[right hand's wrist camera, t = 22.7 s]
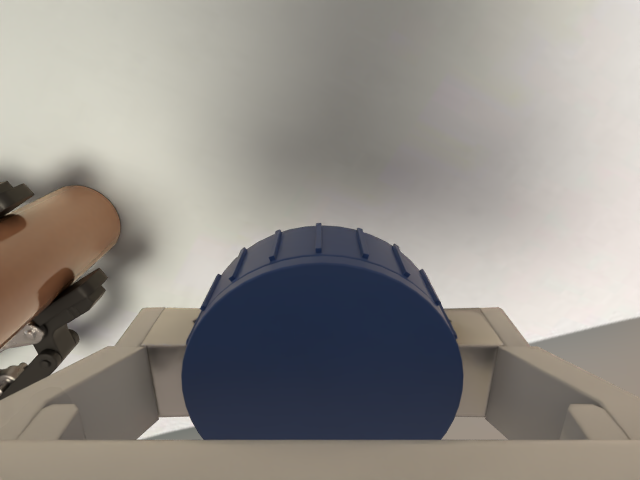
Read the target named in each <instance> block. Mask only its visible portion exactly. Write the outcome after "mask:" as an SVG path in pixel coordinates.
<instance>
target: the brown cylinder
mask: <svg viewBox="0 0 640 480" xmlns="http://www.w3.org/2000/svg"><path fill="white" fill-rule="evenodd" d="M119 235H120V220H119V216H118V214H117V211H116V210H115V208H114V206H113V205H112V204H111V202H110V201H109V200H108V199H107V198H106V197H104V196H103V195H102V194H100V193H99V192H97V191H95V190H93V189H91V188H88V187H84V186H78V185H72V186H66V187H62V188H60V189H58V190H55V191H53V192H51V193H49V194H47V195H45V196H43V197H41V198H39V199H37V200H35V201H33V202H31V203H29V204H27V205H25V206H23V207H21V208H19V209H17V210H15V211H13V212H11V213H9V214H7V215H5V216H3V217H1V218H0V349H2V348H3V347H4V346H5V345H6V344H7V343H8V342H9V341H10V340H11V339H13V338H14V337H15V336H16V335H17V334H18V333H19V332H20V331H21V330H22V329H24V328H25V327H26V326H27V325H28V324H29V323H30V322H31V321H32V320H33V319H35V318H36V317H37V316H38V315H39V314H40V313H41V312H42V311H43V310H44V309H45V308H47V307H48V306H49V305H50V304H51V303H52V302H53V301H54V300H55V299H56V298H58V297H59V296H60V295H61V294H62V293H63V292H64V291H65V290H66V289H67V288H69V287H70V286H71V285H72V284H73V283H74V282H75V281H76V280H77V279H78V278H79V277H81V276H82V275H83V274H84V273H85V272H86V271H87V270H88V269H89V268H90V267H92V266H93V265H94V264H95V263H96V262H97V261H98V260H99V259H100V258H101V257H103V256H104V255H105V254H106V253H107V252H108V251H109V250H110V249H111V248H112V247H113V246H114V245H115V244H116V242H117V240H118V238H119Z"/></svg>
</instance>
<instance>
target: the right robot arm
mask: <svg viewBox="0 0 640 480" xmlns="http://www.w3.org/2000/svg"><path fill="white" fill-rule="evenodd" d="M444 311H445V313H446V315H447V317H448V319H449V320H450V322H451V324H452V326H453V328H454V330H455V332H456V334H457V337H458V339H456V341H457V344H458V346H459V350H460V354H461V358H462V364H463V374H464V377H463V391H462V396H461V400H460V404H459V408H458V410H457V413H456V415H455V416H458V417H486V418H485V419H486V420H487V421H488V422H489V423H491V424H492V425H493V426H494V427H495V428H496V429H497V430H498V431H500V432H501V433H502V434H503V435H504V436H505V437H506V438H507V439H509V440H136V439H137V438H139V437H140V436H141V435H142V434H143V433H144V432H145V431H146V430H147V429H149V428H150V427H151V426H152V425H153V424H154V423H155V422H156V421H157V420H159V417H185V416H189V413H188V411H187V408H186V406H185V401H184V397H183V392H182V380H181V372H182V363H183V357H184V354H185V350H186V346H187V344H186V340H187V338H188V336H189V334H190V332H191V330H192V328H193V326H194V324H195V322H196V320H197V318H198V316H199V314H200V312H201V310H200V308H165V307H156V308H143V309H142V310H141V311H140V312H139V314H138V315H137V316H136V318H135V319H134V320H133V322H132V323H131V324H130V326H129V327H128V329H127V330H126V331H125V333H124V334H123V335H122V337H121V338H120V339H119V341H118V342H117V343H116V345H115V346H107V347H105V348H103V349H101V350H99V351H97V352H95V353H93V354H91V355H89V356H88V357H86V358H84V359H82V360H80V361H78V362H76V363H74V364H72V365H70V366H68V367H66V368H64V369H62V370H60V371H58V372H56V373H54V374H52V375H50V376H48V377H46V378H44V379H42V380H40V381H38V382H36V383H34V384H32V385H30V386H28V387H26V388H24V389H22V390H20V391H18V392H16V393H14V394H12V395H10V396H8V397H6V398H4V399H2V400H0V480H640V398H639V397H637V396H635V395H633V394H631V393H629V392H627V391H625V390H623V389H621V388H619V387H617V386H615V385H613V384H611V383H609V382H607V381H605V380H603V379H601V378H599V377H597V376H595V375H593V374H591V373H589V372H587V371H585V370H583V369H581V368H579V367H577V366H575V365H573V364H571V363H569V362H567V361H565V360H563V359H561V358H559V357H557V356H555V355H553V354H551V353H549V352H547V351H545V350H543V349H541V348H539V347H537V346H530V345H529V344H528V343H527V341H526V340H525V339H524V337H523V336H522V335H521V333H520V332H519V331H518V329H517V328H516V327H515V326H514V324H513V323H512V322H511V320H510V319H509V318H508V316H507V315H506V314H505V312H504V311H503V310H502V309H501V308H499V307H490V308H452V309H444Z"/></svg>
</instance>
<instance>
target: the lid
mask: <svg viewBox="0 0 640 480" xmlns="http://www.w3.org/2000/svg"><path fill="white" fill-rule="evenodd" d="M200 310H201V312H200V314H199V316H198V318H197V320H196V322H195V324H194V326H193V328H192V330H191V332H190V334H189V336H188V338H187V340H186V344H187V346H186V350H185V354H184V357H183V363H182V372H181V380H182V392H183V397H184V401H185V406H186V408H187V411H188V413H189V416H190V419H191V421H192V422H193V424H194V426H195V428H196V429H197V431H198V433H199V434H200V436H201V437H202V438H203V439H204V440H441V439H442V438H443V436H444V435H445V434H446V432H447V431H448V429H449V427H450V425H451V424H452V422H453V420H454V418H455V415H456V413H457V410H458V408H459V404H460V400H461V396H462V391H463V377H464V374H463V364H462V358H461V354H460V350H459V346H458V344H457V341H456V339H458V337H457V334H456V332H455V330H454V328H453V326H452V324H451V322H450V320H449V319H448V317H447V315H446V313H445V311H444V309H443V307H442V305H441V302H440V300H439V298H438V296H437V294H436V293H435V291H434V289H433V287H432V285H431V283H430V281H429V279H428V277H427V275H426V273H425V272H424V270H423V269H421V270H420V271H419V269H418V268H417V267H416V266H415V265H414V264H413V263H412V261H411V260H410V259H408V258H407V257H406V256H405V255H404V254H403V253H401V251H400V249H399V247H398V246H397V245H396V244H394V245H393V246H392V245H390V244H388V243H387V242H385V241H383V240H381V239H379V238H377V237H375V236H373V235H370V234H367V233H364V232H363V230H362V229H361V228H357V230H354V229H349V228H344V227H337V226H321V223H316V226H307V227H301V228H295V229H290V230H287V231H283V232H281V230H277V231H276V232H275V234H274V235H272V236H270V237H268V238H265V239H263V240H261V241H259V242H257V243H256V244H254V245H253V246H251V247H250V248H248V249H246V248H245V247H244V248H243V249H242V250H241V251H240V253H239V256H238V257H237V258H236V259H235V260H234V261H233V262H232V263H231V264H230V265H229V266H228V267H227V269H226V270H225V271H224V272H223V274H222V275H220V274H218V275H217V276H216V278H215V280H214V282H213V284H212V286H211V288H210V290H209V292H208V294H207V296H206V298H205V300H204V302H203V304H202V306H201V308H200Z"/></svg>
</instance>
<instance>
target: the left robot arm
mask: <svg viewBox="0 0 640 480" xmlns="http://www.w3.org/2000/svg"><path fill="white" fill-rule="evenodd" d="M33 195H34V194H33V192H32V191H31V190H30V189H29V188H28V187H27V186H26V185H25V184H24V183H23V184H21V185H18V186H16V187H12V186H11V185H10V184H9V182H8V181H6V182H0V218H1V217H3V216H5V215H6V214H8V213H9V212H10V211H12V210H13V209H15V208H16V207H18V206H19V205H20V204H22V203H23V202H25V201H26V200H28V199H29V198H30V197H32V196H33ZM107 279H108V277H107V276H106V275H105V274H104V272H103V271H102V270H101V269H100V268H98V269H97V270H95V271H93V272H92V273H90V274H88V275H87V276H85V277H84V278H82V279H80V280H79V281H77V282H76V283H74V284H72V285H71V286H70V287H69V288H67V289H66V290H65V291H64V292H63V293H62V294H61V295H60V296H59V297H58V298H56V299H55V300H54V301H53V302H52V303H51V304H50V305H49V306H48V307H47V308H45V309H44V310H43V311H42V312H41V313H40V314H39V315H38V316H37V317H36V318H35V319H33V320H32V321H31V322H30V323H29V324H28V325H27V326H26V327H25V328H24V329H22V330H21V331H20V332H19V333H18V334H17V335H16V336H15V337H14V338H13V339H11V340H10V341H9V342H8V343H7V344H6V345H5V346H4V347H3V348H2V349H0V352H2V351H3V350H5V349H8V348H13V347H19V346H25V345H31V344H33V345H34V347H35V349H36V351H37V353H38V355H37V356H36V358H35V359H34V360H33V361H32V362H31V363H30V364H29V365H27V364H26V363H20V365H19V366H16V365H12V366H9V367H8V368H6V369H0V400H2V399H4V398H6V397H8V396H10V395H12V394H14V393H16V392H18V391H20V390H22V389H24V388H26V387H28V386H30V385H32V384H34V383H36V382H38V381H40V380H42V379H44V378H46V377H48V376H50V375H51V374H52V372H53V371H54V370H55V369H56V368H57V367H58V366H59V365H60V364H61V362H62V361H63V360H64V359H65V358H66V357H67V355H68V354H69V353H70V352H71V351H72V350H73V348H74V347H75V346H76V345H77V344H78V342H79V335H78V334H77V333H76V332H75V331H73V330H71V329H68V327H67V323H69V322H70V321H72V320H74V319H75V318H77V317H79V316H80V315H82V314H84V313H85V312H87V311H89V310H90V309H91V308H92V307H93V305H94V304H95V303H96V302H97V301H98V300H99V299H100V298H101V297H102V295H103V294H104V292H105V289H104V288H103V287H102V286H101V285H102V284H103V283H104V282H105V281H106V280H107Z"/></svg>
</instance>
